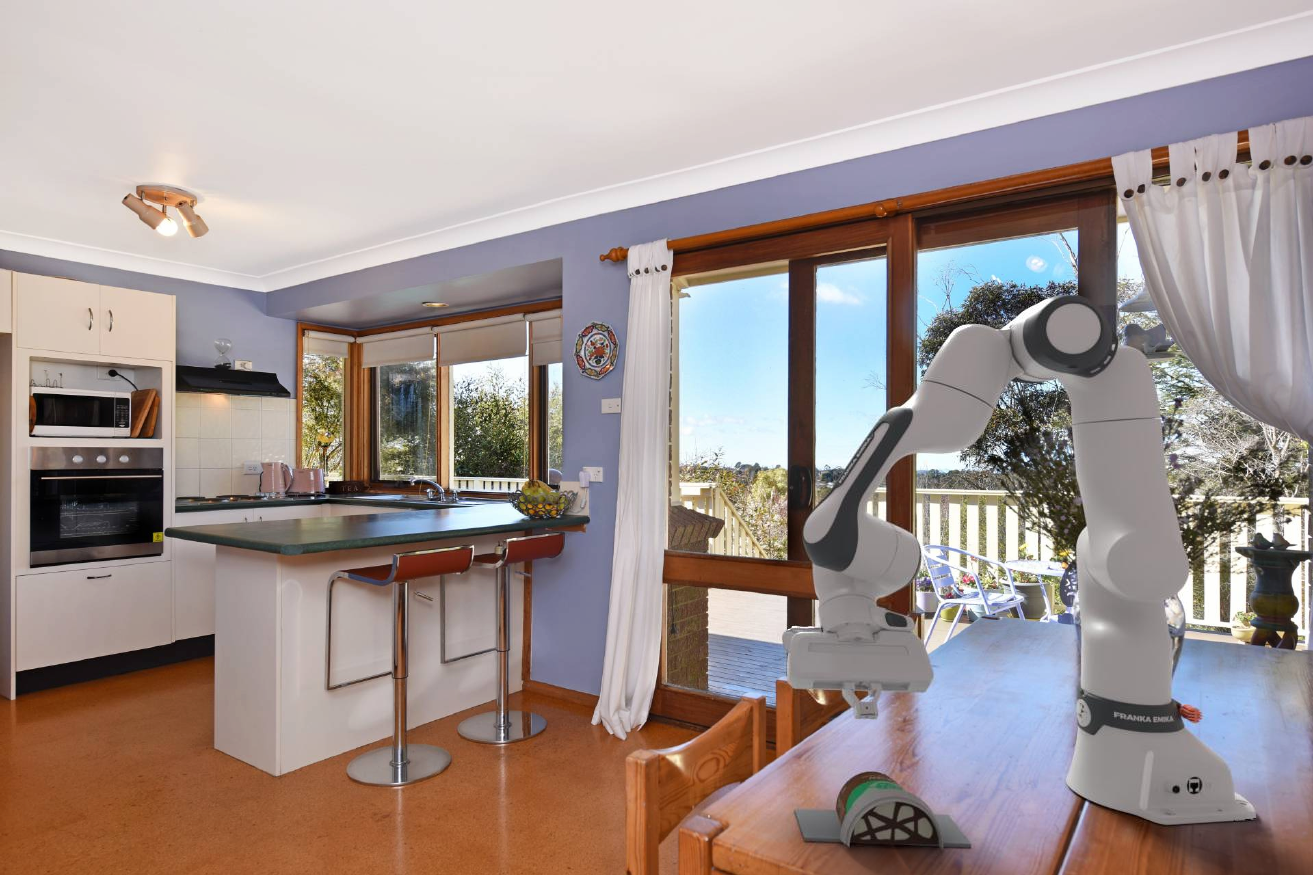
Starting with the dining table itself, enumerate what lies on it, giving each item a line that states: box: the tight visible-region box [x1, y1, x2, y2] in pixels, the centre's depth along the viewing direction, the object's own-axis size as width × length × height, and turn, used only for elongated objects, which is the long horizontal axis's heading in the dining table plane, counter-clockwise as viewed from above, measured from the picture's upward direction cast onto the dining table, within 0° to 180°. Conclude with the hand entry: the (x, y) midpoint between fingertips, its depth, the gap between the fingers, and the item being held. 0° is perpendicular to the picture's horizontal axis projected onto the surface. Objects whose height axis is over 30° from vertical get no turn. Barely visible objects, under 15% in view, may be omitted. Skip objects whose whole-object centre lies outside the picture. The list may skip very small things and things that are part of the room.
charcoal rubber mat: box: [793, 808, 972, 848], centre depth 96 cm, size 20×8×1 cm, turn 89°
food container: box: [835, 770, 944, 850], centre depth 96 cm, size 12×6×10 cm
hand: (866, 717), depth 104 cm, fingers closed
